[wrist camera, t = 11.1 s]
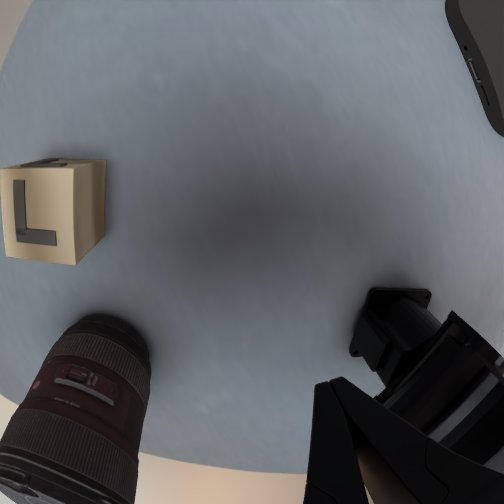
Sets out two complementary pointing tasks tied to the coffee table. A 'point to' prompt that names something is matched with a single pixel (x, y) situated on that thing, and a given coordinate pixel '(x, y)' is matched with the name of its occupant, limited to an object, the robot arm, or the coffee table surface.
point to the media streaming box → (482, 50)
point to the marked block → (53, 209)
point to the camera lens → (80, 419)
